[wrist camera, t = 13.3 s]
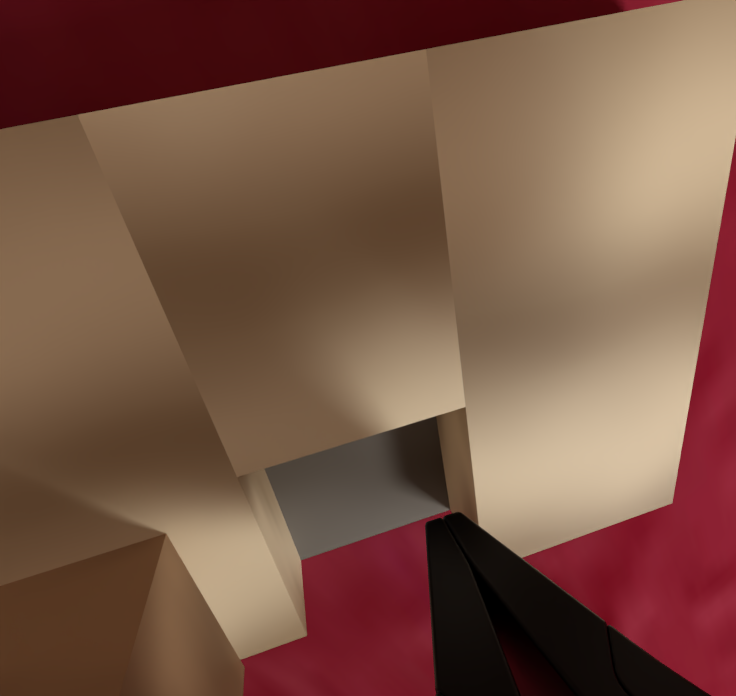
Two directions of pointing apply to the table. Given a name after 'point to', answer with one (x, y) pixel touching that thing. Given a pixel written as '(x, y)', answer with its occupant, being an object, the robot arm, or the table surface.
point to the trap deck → (363, 304)
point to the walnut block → (115, 630)
